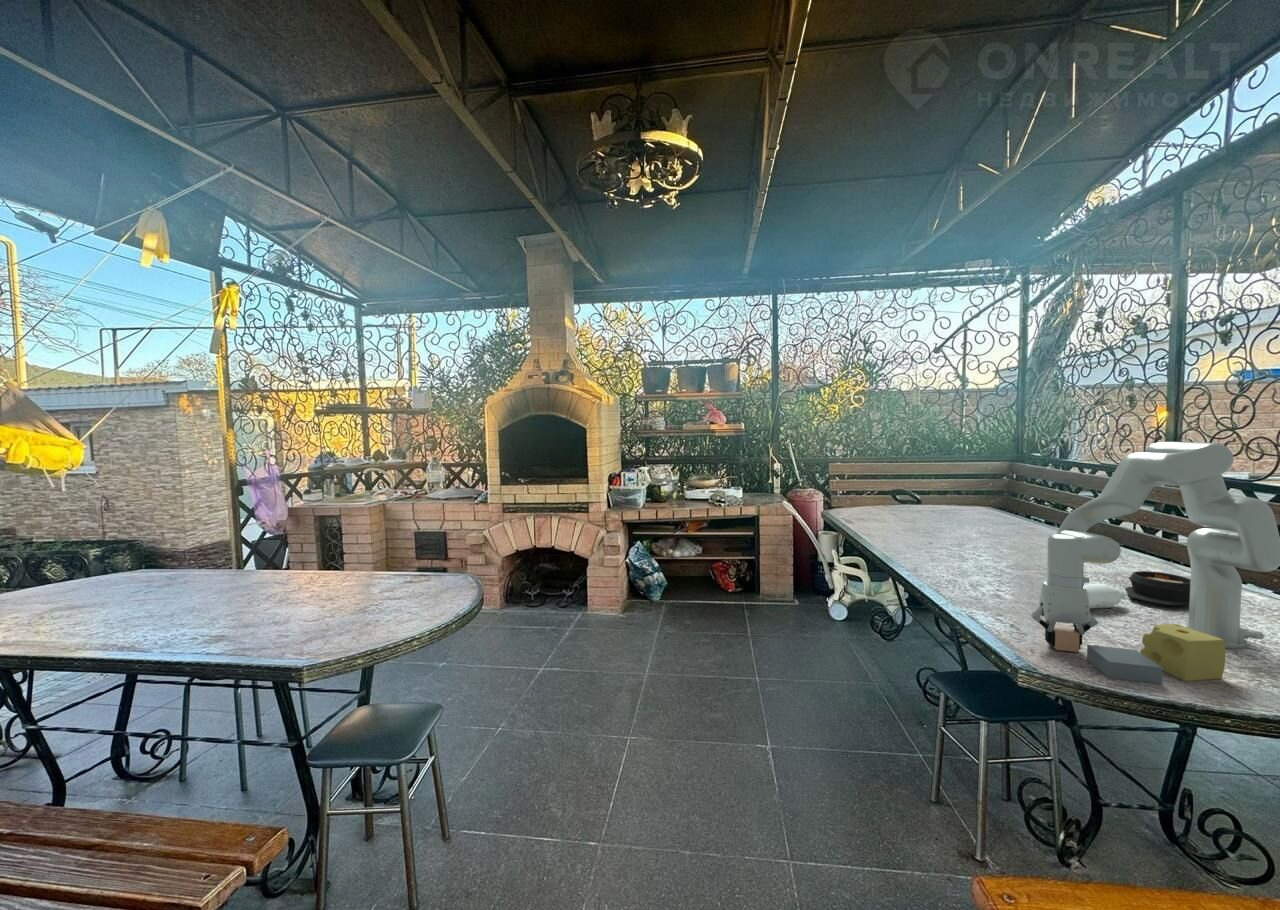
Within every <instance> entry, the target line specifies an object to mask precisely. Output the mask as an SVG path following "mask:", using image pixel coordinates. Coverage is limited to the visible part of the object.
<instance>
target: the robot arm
mask: <svg viewBox="0 0 1280 910" xmlns="http://www.w3.org/2000/svg"><path fill="white" fill-rule="evenodd" d="M1233 462H1234V455H1233V453H1232V450H1231V449H1230V448H1229V447H1228V446H1225V445H1224V444H1221V443H1216V442H1193V441H1191V442H1189V441H1160V442H1154V443H1151V444H1150V445H1148V446H1147V447H1146V448H1145V450H1144V452H1141V451H1140V452H1132V453H1130V454H1127V455H1125V456H1124V457H1123V458H1122V459H1121V461H1120V463H1119V464H1118V465H1117V467H1116V469H1115V470H1114V472H1113V473H1112V474H1111V476H1110V478H1109V480H1108V482H1107V483H1106V485H1104V488H1103V489H1102V491H1101V493H1100V494H1099V495H1098V496H1097V497H1095V498H1094V499H1091V500H1088V501H1087V502H1085V503H1083V504H1082V505H1080V506H1079V507H1077V508H1075V509H1074V510H1072V511H1071V512H1070V513H1069V514H1068V515H1067V516H1066V517H1065V519H1064V520H1063V522H1062V523H1061V525H1060V526H1059V528H1058V530H1057V531H1056V533H1055V534H1051V535H1049V536H1048V538H1047V558H1046V559H1047V561H1046V562H1047V563H1046V566H1047V568H1046V581H1043V583H1042V585H1041V589H1040V593H1039V598H1038V608H1037V609H1036V610H1035V611H1034V612H1033V613H1031V615H1030V617H1031V618H1032V619H1033V620H1034V621H1036V622H1037V623H1038V624H1040V626H1042V627H1043V628H1044V632H1045V633H1044V640H1045V642H1047V644H1048V645H1050V647H1052V648H1054V646H1055V633H1054V632H1053V629H1054V626H1055V625H1056V623H1063V624H1064V623H1065V624H1072V626H1073V629H1074V630H1075V631H1077V632H1078V633H1079V634H1080V635H1079V650H1081V646H1082V645H1083V635H1085V634H1086V632H1088V631H1089V630H1090V629H1091V628H1093V627H1095V626H1098V624H1099V621H1098V620H1097V619H1096V618H1095V617H1094V616H1093V614H1092V613H1091V612H1090V609H1091V608H1090V609H1089V600H1088V595H1087V591H1086V588H1085V587H1084V585H1085V584H1086V583H1087V584H1090V578H1089V577H1086V576H1085V575H1084V569H1085V567H1084V564H1085V563H1087V564H1089V563H1090V564H1091V563H1092V564H1100V565H1106V564H1110V563H1111V564H1112V563H1114V562H1115V561H1116V560H1118V559H1119V557H1120V556H1121V553H1122V551H1121V547H1120V545H1119V543H1118V542H1117V541H1116V540H1114V539H1113V538H1111V537H1108V536H1105V535H1101V534H1095V533H1093V532H1092V533H1091V532H1088V530H1089V529H1090V528H1091V527H1093V526H1094V525H1095V524H1098V523H1101V521H1102V522H1103V521H1106V520H1109V519H1113V518H1118V517H1123V516H1127V515H1132V514H1134V513H1136V512H1138V511H1139V510H1140V509H1141V507H1142V505H1143V504H1144V502H1145V500H1146V499H1147V498H1148V496H1149V495H1150V493H1151V491H1152V489H1153V488H1154V486H1156V485H1161V486H1169V487H1170V486H1171V487H1179V490H1180V493H1181V497H1182V501H1183V504H1184V505H1183V506H1184V509H1185V512H1186V515H1187V518H1188V519H1189V521H1190V522H1191V523H1193V524H1194V525H1198V526H1202V527H1204V528H1198V529H1195V530H1193V531H1192V532H1190V534H1189V535H1188V536H1187V538H1186V540H1187V541H1186V547H1187V552H1188V557H1189V563H1190V579H1191V582H1190V601H1189V605H1188V623H1187V625H1188V626H1186V627H1187V628H1189V629H1192V630H1195V631H1198V632H1201V633H1205V634H1208V635H1211V636H1214V637H1217V638H1220V639H1223V640H1224V644H1225V649H1239V650H1240V649H1246V648H1247V647H1248V645H1249V643H1248V640H1246V639H1249V638H1250V639H1251V638H1252V639H1256V640H1263V639H1265V636H1264V633H1263V632H1262V631H1257V630H1255V631H1254V630H1251V631H1250V629H1248V628H1243V627H1241V611H1242V609H1241V607H1242V592H1243V591H1242V590H1243V580H1242V579H1241V578H1242V577H1241V576H1240V574H1239V572H1238V570H1237V569H1236V568H1239V569H1242V570H1243V569H1244V570H1246V571H1247V570H1248V571H1253V572H1262V573H1267V572H1273V571H1275V570H1276V569H1278V568H1279V567H1280V532H1279V529H1278V528H1279V527H1278V525H1277V524H1278V523H1277V520H1276V517H1275V514H1274V512H1273V511H1274V510H1273V509H1272V508H1271V507H1270V505H1269V504H1267V503H1266V502H1265V501H1263V500H1261V499H1258V498H1255V497H1250V496H1241V495H1235V494H1234V495H1233V494H1230V492H1229V491H1228V488H1227V486H1226V482H1225V480H1224V478H1223V475H1222V474H1224V473H1226V472H1228V470H1229V469H1230V468H1231V467H1232V465H1233ZM1041 616H1042V617H1044V620H1043V619H1042V618H1041Z"/></svg>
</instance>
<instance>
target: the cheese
mask: <svg viewBox="0 0 1280 910" xmlns="http://www.w3.org/2000/svg"><path fill="white" fill-rule="evenodd" d="M1187 627H1188V626H1184V625H1181V624H1178V623H1176V624H1175V623H1174V624H1172V623H1170V624H1169V623H1168V624H1165V623H1164V624H1156V625H1153V628H1152V631H1150V632H1149V633H1146V632H1145V633H1144V634H1143V635H1142V640H1141V643H1142V644H1143V646H1144V647H1143V648H1141V649H1140V650H1139V652H1140V653H1141V654H1143V655H1144V656H1146V657H1147V658H1149V659H1150V660H1152V661H1153V662H1155V663H1156V664H1158V665H1159V666H1161V667H1162V668H1163V670H1162V672H1164V673H1167V674H1168V675H1171V676H1173V677H1175V678H1177V677H1178V678H1177V679H1179V678H1180V680H1181V681H1184V682H1188V681H1189V682H1191V681H1205V680H1219V679H1222V680H1223V676H1224V672H1225V666H1226V665H1225V664H1226V647H1225V644H1224V640H1223V639H1220V638H1217V637H1214V636H1211V635H1208V634H1205V633H1201V632H1198V631H1195V630H1192V629H1189V628H1187Z"/></svg>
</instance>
